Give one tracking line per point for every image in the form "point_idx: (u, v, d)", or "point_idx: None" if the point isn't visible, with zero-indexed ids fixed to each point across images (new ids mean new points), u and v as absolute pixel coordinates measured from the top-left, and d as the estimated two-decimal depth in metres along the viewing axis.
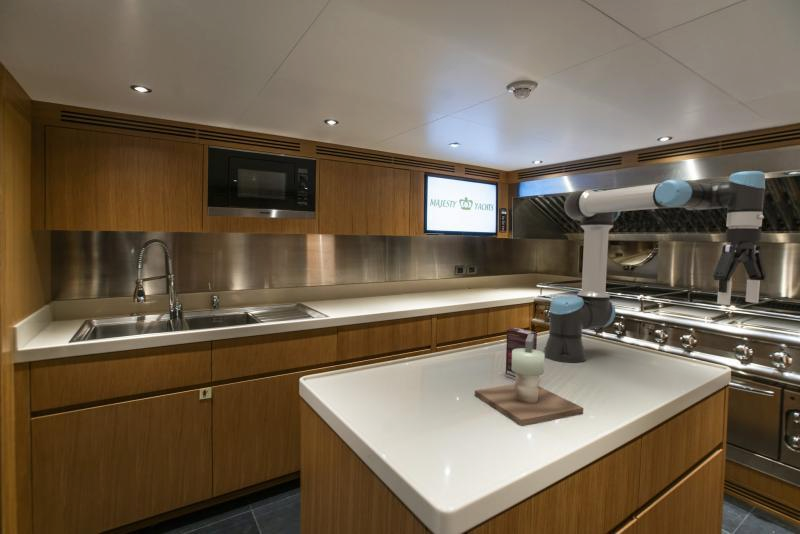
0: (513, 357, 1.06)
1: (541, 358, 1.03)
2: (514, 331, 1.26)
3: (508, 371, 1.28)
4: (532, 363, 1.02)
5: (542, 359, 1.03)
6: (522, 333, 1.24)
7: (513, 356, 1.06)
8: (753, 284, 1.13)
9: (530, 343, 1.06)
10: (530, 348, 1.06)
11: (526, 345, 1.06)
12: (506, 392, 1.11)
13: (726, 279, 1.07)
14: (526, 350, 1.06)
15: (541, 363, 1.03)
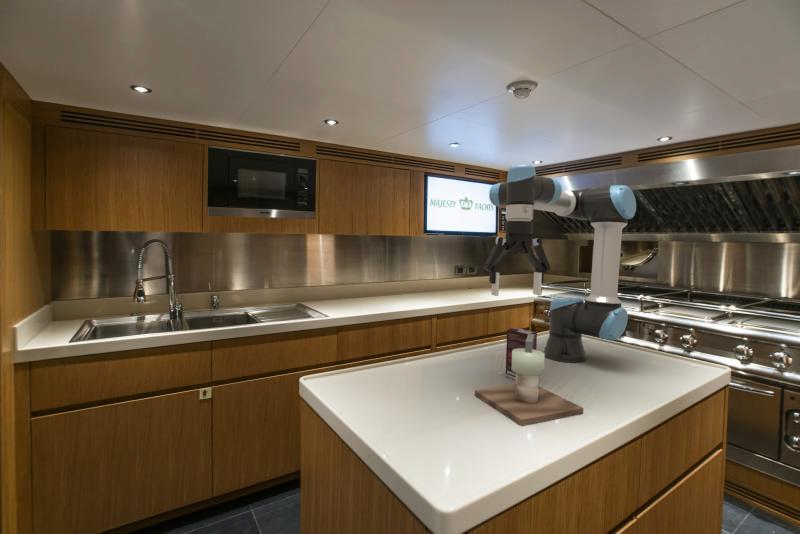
0: (513, 357, 1.06)
1: (541, 358, 1.03)
2: (514, 331, 1.26)
3: (508, 371, 1.28)
4: (532, 363, 1.02)
5: (542, 359, 1.03)
6: (522, 333, 1.24)
7: (513, 356, 1.06)
8: (537, 276, 1.14)
9: (530, 343, 1.06)
10: (530, 348, 1.06)
11: (526, 345, 1.06)
12: (506, 392, 1.11)
13: (493, 270, 1.09)
14: (526, 350, 1.06)
15: (541, 363, 1.03)
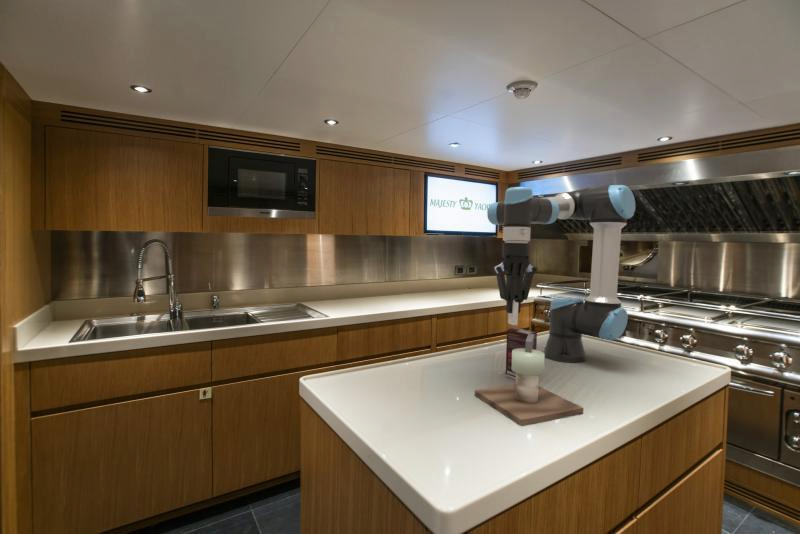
0: (513, 357, 1.06)
1: (541, 358, 1.03)
2: (514, 331, 1.26)
3: (508, 371, 1.28)
4: (532, 363, 1.02)
5: (542, 359, 1.03)
6: (522, 333, 1.24)
7: (513, 356, 1.06)
8: None
9: (530, 343, 1.06)
10: (530, 348, 1.06)
11: (526, 345, 1.06)
12: (506, 392, 1.11)
13: (510, 301, 1.12)
14: (526, 350, 1.06)
15: (541, 363, 1.03)
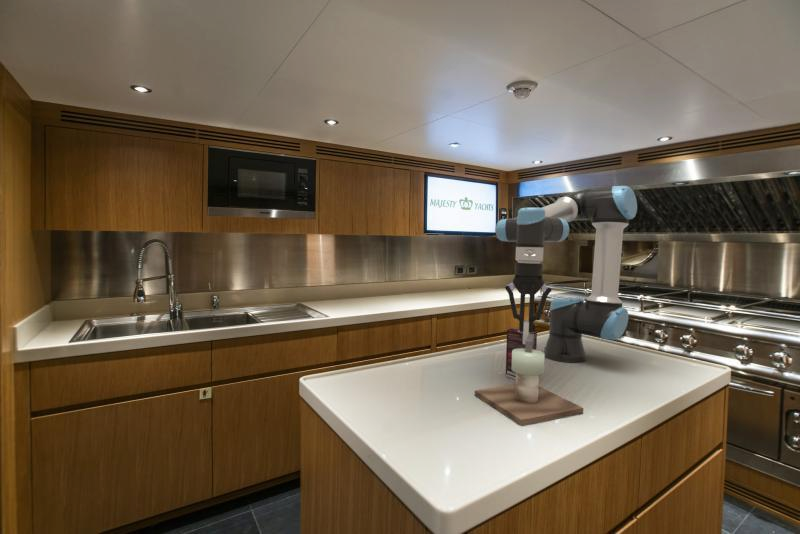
0: (513, 357, 1.06)
1: (541, 358, 1.03)
2: (514, 331, 1.26)
3: (508, 371, 1.28)
4: (532, 363, 1.02)
5: (542, 359, 1.03)
6: (522, 333, 1.24)
7: (513, 356, 1.06)
8: None
9: (530, 343, 1.06)
10: (530, 348, 1.06)
11: (526, 345, 1.06)
12: (506, 392, 1.11)
13: (520, 320, 1.13)
14: (526, 350, 1.06)
15: (541, 363, 1.03)
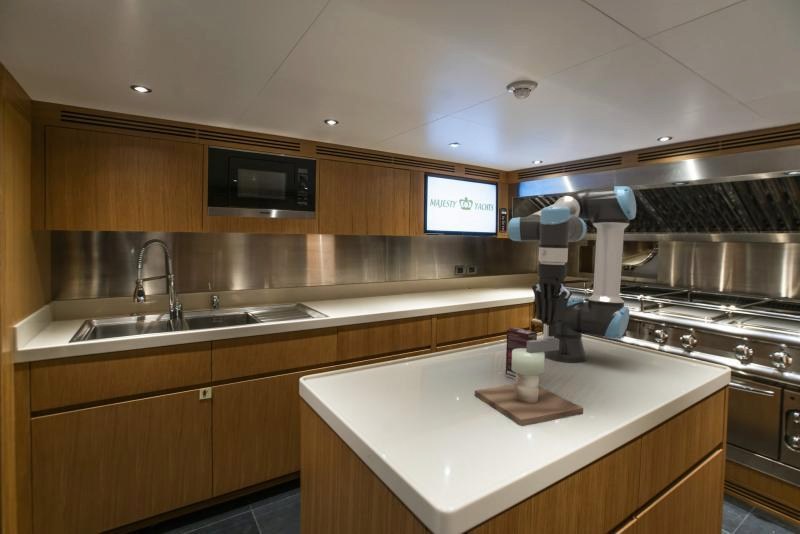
0: None
1: (529, 358, 1.02)
2: (514, 331, 1.26)
3: (508, 371, 1.28)
4: (519, 361, 1.04)
5: (532, 360, 1.02)
6: (522, 333, 1.24)
7: None
8: None
9: (529, 343, 1.06)
10: (529, 348, 1.06)
11: (527, 345, 1.07)
12: (506, 392, 1.11)
13: None
14: (527, 350, 1.07)
15: (530, 364, 1.02)
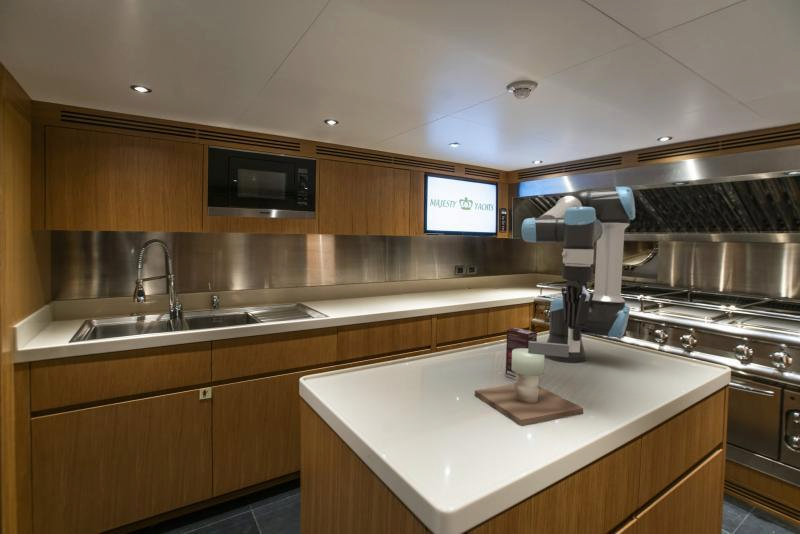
0: None
1: (518, 356, 1.04)
2: (514, 331, 1.26)
3: (508, 371, 1.28)
4: (512, 358, 1.06)
5: (520, 358, 1.03)
6: (522, 333, 1.24)
7: None
8: None
9: None
10: None
11: None
12: (506, 392, 1.11)
13: None
14: (528, 350, 1.07)
15: (519, 362, 1.04)
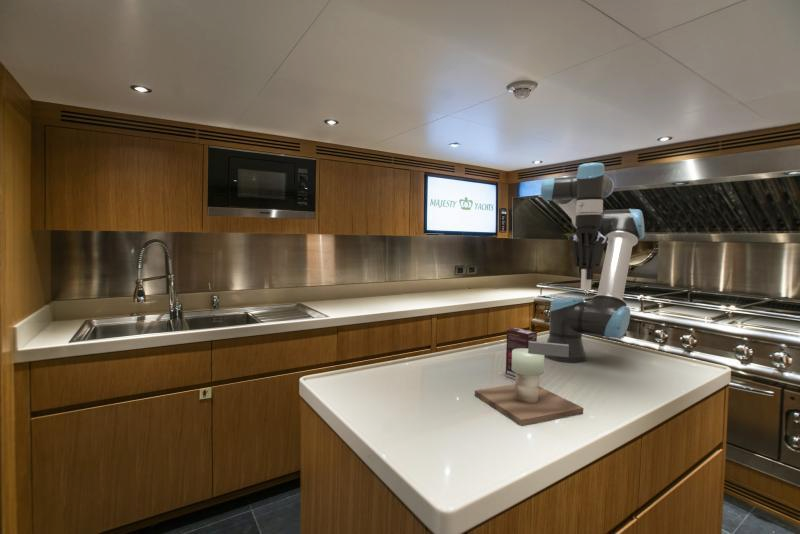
0: None
1: (518, 356, 1.04)
2: (514, 331, 1.26)
3: (508, 371, 1.28)
4: (512, 358, 1.06)
5: (520, 358, 1.03)
6: (522, 333, 1.24)
7: None
8: None
9: None
10: None
11: None
12: (506, 392, 1.11)
13: None
14: (528, 350, 1.07)
15: (519, 362, 1.04)
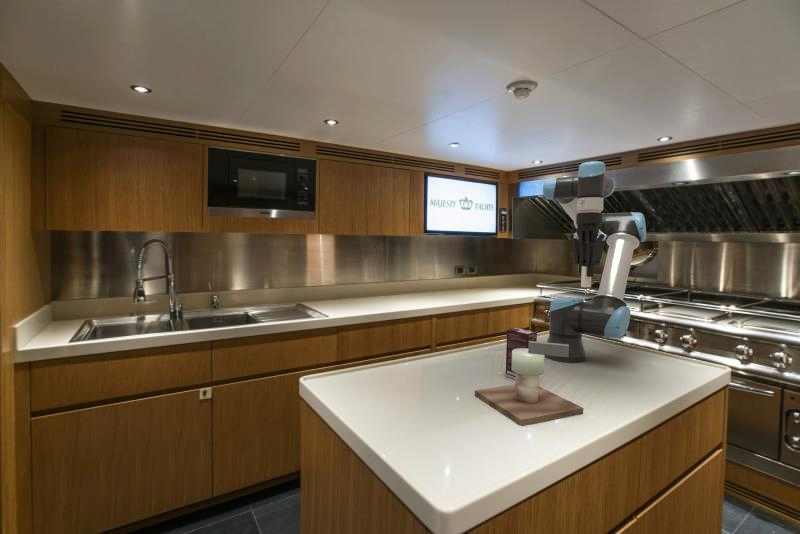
0: None
1: (518, 356, 1.04)
2: (514, 331, 1.26)
3: (508, 371, 1.28)
4: (512, 358, 1.06)
5: (520, 358, 1.03)
6: (522, 333, 1.24)
7: None
8: None
9: None
10: None
11: None
12: (506, 392, 1.11)
13: None
14: (528, 350, 1.07)
15: (519, 362, 1.04)
